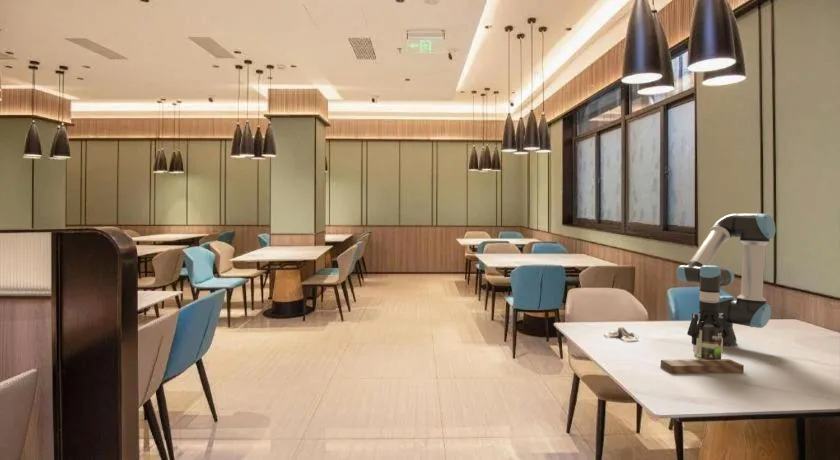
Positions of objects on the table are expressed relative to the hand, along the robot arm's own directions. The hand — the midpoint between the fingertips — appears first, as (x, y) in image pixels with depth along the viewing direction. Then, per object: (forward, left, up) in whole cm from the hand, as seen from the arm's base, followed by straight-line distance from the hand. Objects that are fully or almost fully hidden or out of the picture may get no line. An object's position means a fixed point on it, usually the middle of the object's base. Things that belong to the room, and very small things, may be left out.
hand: (707, 352), depth 209 cm
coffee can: (0, 0, -3) cm, 3 cm away
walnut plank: (+10, +11, -4) cm, 15 cm away
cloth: (+17, -43, -5) cm, 46 cm away
